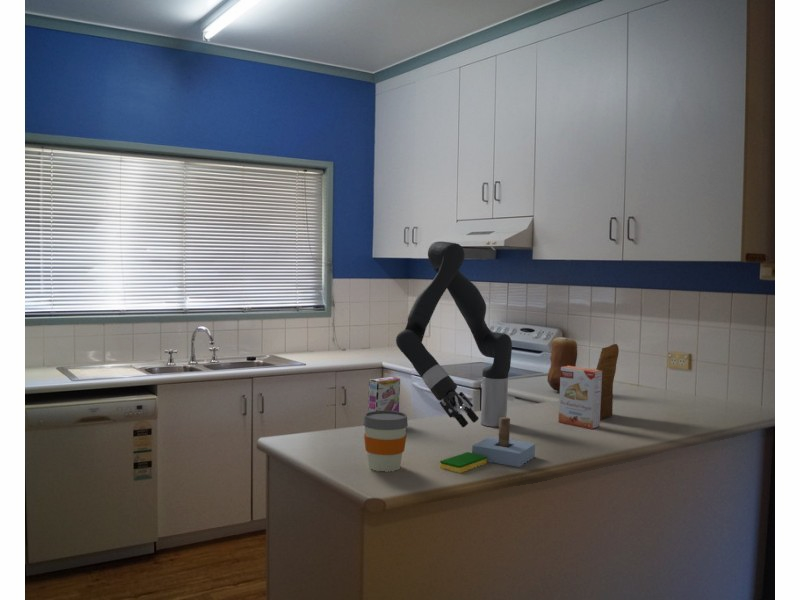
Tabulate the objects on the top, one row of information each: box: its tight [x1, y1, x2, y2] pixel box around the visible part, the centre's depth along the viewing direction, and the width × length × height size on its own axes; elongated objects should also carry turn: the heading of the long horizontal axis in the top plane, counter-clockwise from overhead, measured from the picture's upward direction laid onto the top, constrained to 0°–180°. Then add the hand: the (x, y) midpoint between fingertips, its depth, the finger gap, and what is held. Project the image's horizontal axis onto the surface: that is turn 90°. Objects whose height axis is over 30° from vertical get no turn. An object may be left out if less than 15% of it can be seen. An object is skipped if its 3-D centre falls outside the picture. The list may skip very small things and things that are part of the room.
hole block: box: [471, 436, 536, 468], centre depth 220 cm, size 13×15×4 cm
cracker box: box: [557, 366, 602, 430], centre depth 265 cm, size 14×6×21 cm, turn 47°
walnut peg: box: [498, 417, 511, 448], centre depth 219 cm, size 3×3×12 cm
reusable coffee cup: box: [363, 411, 409, 473], centre depth 206 cm, size 13×13×15 cm
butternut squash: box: [546, 336, 578, 393], centre depth 328 cm, size 14×13×25 cm
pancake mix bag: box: [595, 343, 620, 421], centre depth 279 cm, size 7×19×28 cm, turn 138°
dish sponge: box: [439, 451, 488, 474], centre depth 211 cm, size 7×14×2 cm, turn 140°
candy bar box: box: [367, 376, 401, 413], centre depth 258 cm, size 11×5×16 cm, turn 135°
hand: (471, 423), depth 225 cm, fingers open, 8 cm apart
